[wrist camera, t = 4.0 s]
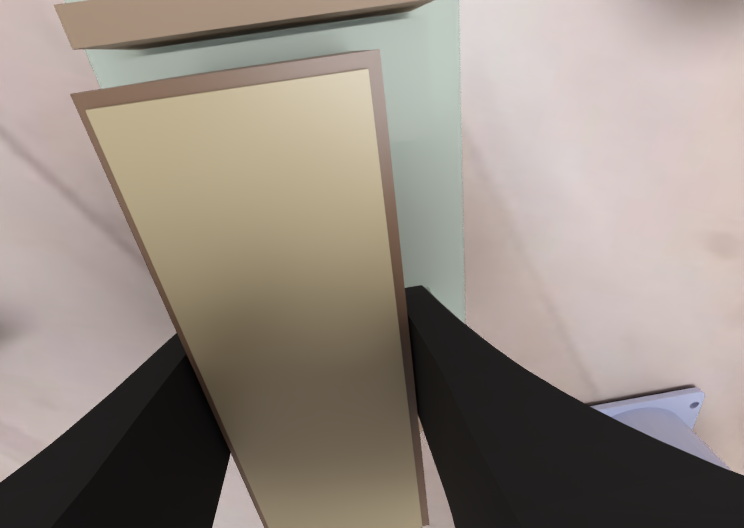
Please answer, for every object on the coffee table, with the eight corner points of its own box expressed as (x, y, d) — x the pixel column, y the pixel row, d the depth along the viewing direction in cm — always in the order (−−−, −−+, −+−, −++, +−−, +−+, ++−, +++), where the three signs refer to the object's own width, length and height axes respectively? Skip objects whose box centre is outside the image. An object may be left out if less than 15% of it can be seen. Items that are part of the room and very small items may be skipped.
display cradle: (460, 355, 20) (494, 430, 16) (235, 394, 19) (214, 481, 15) (450, -52, 12) (510, -101, 8) (78, -1, 12) (-43, -27, 8)
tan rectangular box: (395, 375, 15) (431, 532, 10) (291, 394, 15) (275, 562, 10) (352, 51, 10) (382, 48, 5) (192, 74, 10) (60, 95, 5)
